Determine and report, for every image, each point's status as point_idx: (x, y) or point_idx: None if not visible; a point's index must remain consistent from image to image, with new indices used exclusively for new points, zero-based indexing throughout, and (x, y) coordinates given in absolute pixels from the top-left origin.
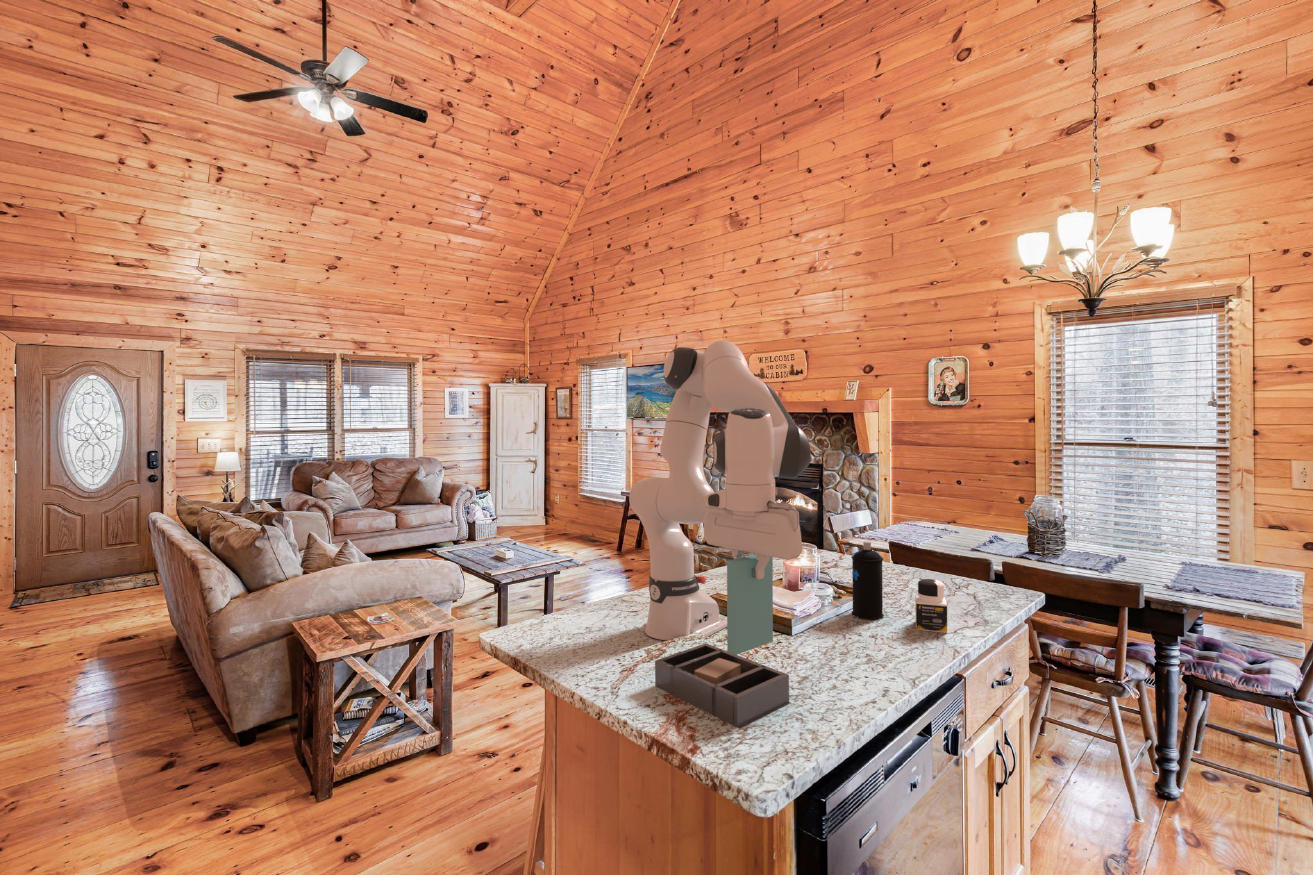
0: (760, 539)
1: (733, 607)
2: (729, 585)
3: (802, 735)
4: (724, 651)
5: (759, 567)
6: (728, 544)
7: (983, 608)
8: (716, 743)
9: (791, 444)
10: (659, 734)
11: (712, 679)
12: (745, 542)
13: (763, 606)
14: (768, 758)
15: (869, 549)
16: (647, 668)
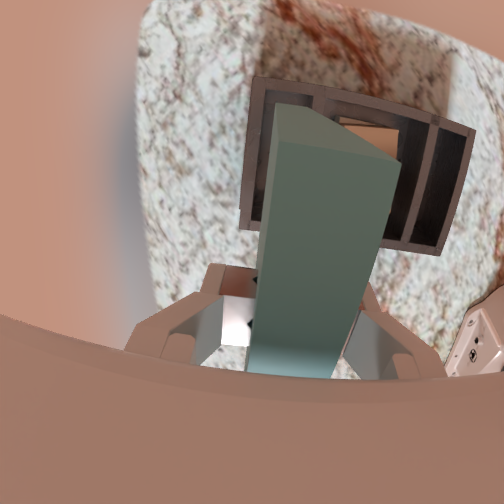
0: (28, 456)
1: (289, 111)
2: (327, 125)
3: (185, 150)
4: (396, 245)
5: (182, 300)
6: (487, 392)
7: None
8: (270, 42)
9: None
10: (356, 13)
11: (351, 125)
12: (284, 454)
13: (257, 258)
14: (185, 63)
15: None
16: (494, 192)
